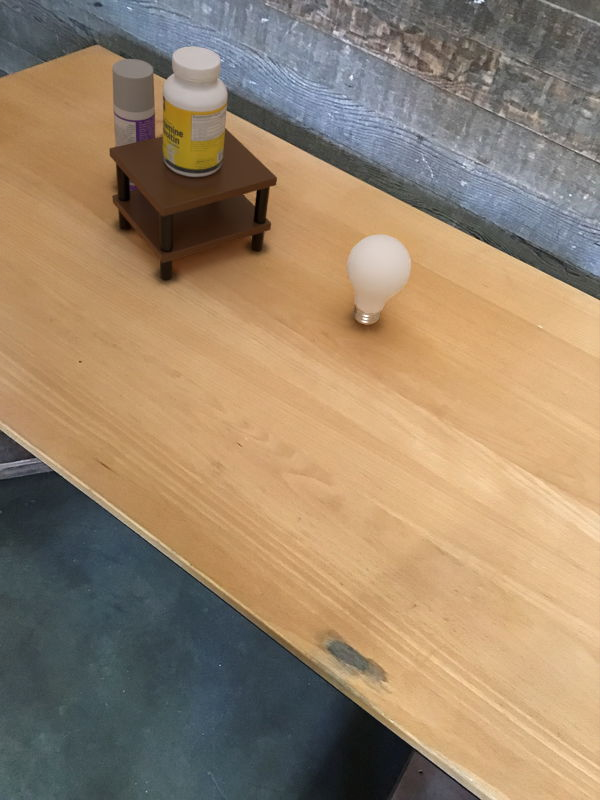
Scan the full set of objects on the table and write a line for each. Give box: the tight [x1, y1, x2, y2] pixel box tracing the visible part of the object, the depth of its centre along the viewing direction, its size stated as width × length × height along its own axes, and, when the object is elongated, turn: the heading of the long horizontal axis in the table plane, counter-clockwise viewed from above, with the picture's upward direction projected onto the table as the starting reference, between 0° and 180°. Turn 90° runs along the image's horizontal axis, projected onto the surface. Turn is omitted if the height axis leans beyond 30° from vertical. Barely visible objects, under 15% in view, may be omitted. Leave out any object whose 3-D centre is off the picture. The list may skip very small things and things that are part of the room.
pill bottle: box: [162, 46, 228, 177], centre depth 78 cm, size 6×6×12 cm
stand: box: [109, 127, 278, 282], centre depth 86 cm, size 14×12×10 cm
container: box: [111, 58, 156, 191], centre depth 89 cm, size 5×5×15 cm
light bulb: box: [346, 233, 412, 326], centre depth 80 cm, size 7×7×11 cm
